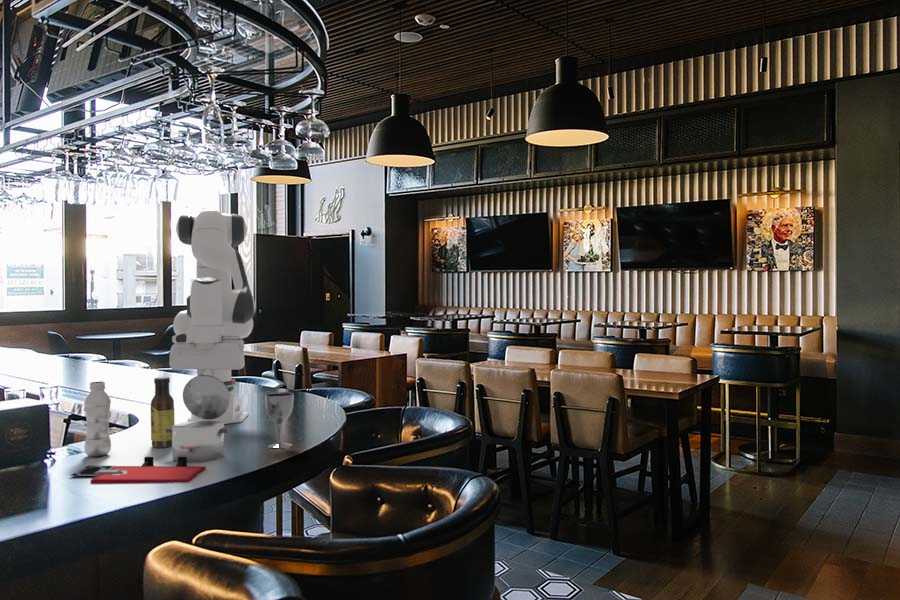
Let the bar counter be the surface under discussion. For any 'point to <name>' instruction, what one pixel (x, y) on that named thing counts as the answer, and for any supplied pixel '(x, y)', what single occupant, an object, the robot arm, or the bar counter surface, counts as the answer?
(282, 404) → the wine glass
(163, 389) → the sauce bottle
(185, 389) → the lid
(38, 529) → the bar counter surface
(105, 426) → the plastic bottle
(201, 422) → the pot
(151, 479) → the red board with handle
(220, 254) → the robot arm
